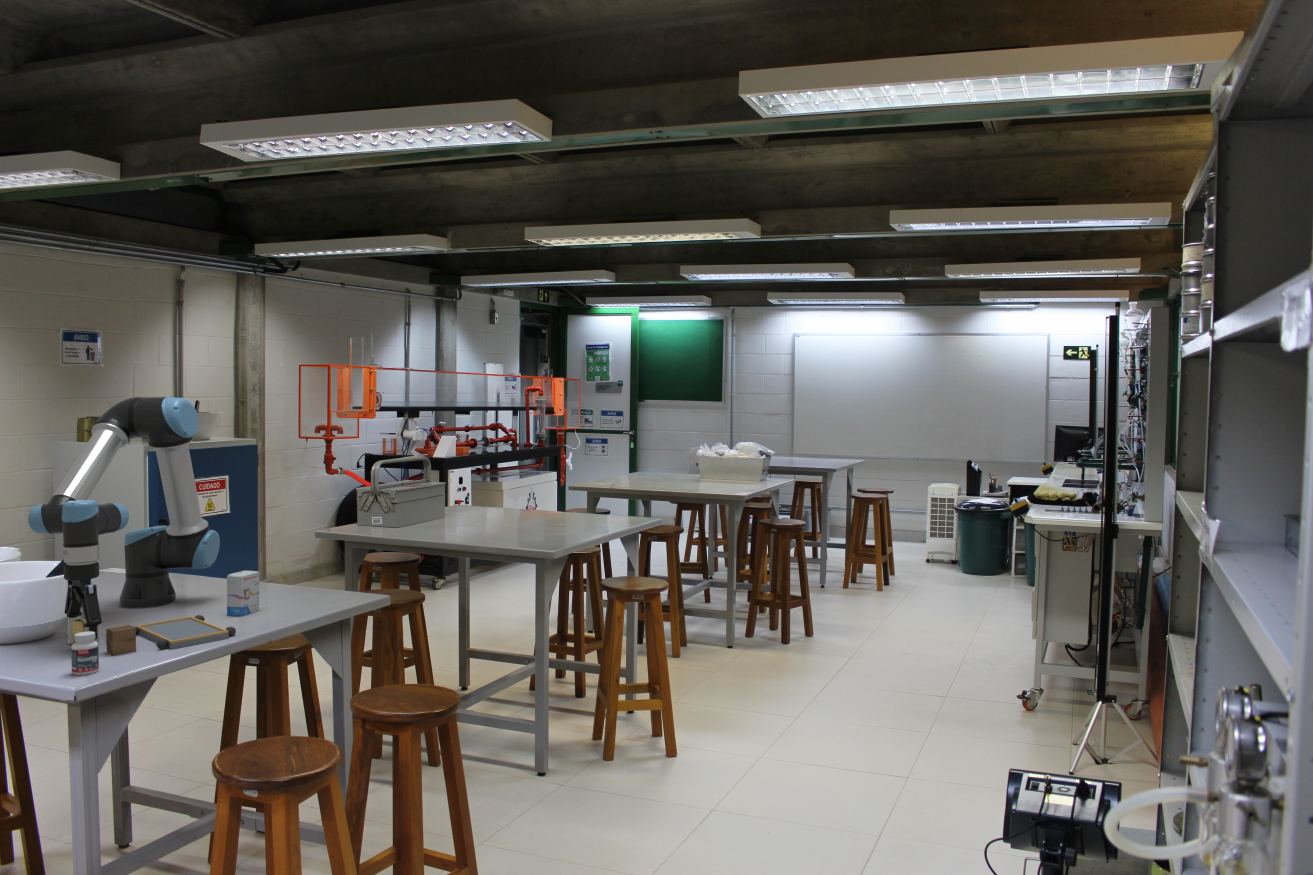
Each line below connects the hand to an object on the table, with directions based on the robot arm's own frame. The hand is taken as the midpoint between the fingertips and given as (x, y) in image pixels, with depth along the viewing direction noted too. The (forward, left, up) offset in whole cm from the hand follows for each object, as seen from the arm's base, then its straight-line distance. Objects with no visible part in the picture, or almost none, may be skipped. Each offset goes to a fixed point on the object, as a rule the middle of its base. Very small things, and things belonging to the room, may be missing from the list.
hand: (83, 647), depth 228 cm
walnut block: (+11, +5, 0) cm, 12 cm away
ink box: (-8, +43, 0) cm, 44 cm away
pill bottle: (+23, -6, 0) cm, 24 cm away
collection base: (+6, +21, 0) cm, 22 cm away
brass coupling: (0, 0, 0) cm, 0 cm away
